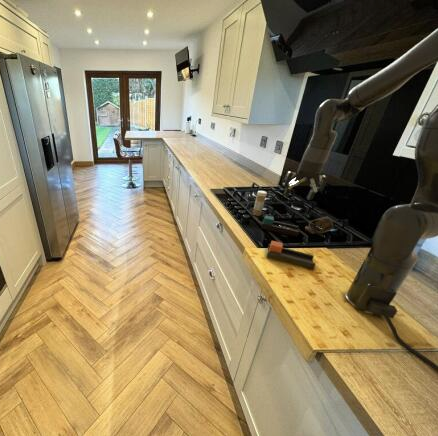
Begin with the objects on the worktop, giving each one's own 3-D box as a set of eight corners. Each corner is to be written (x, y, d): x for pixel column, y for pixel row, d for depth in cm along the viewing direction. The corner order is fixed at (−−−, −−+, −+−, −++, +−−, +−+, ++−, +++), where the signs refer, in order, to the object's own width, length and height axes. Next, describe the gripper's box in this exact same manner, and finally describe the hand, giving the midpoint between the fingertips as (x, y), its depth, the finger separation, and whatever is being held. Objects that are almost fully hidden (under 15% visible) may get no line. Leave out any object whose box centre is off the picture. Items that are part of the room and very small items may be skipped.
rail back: (297, 237, 110) (299, 232, 109) (260, 228, 117) (262, 223, 115) (296, 231, 115) (298, 226, 114) (261, 223, 122) (263, 218, 121)
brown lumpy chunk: (342, 227, 109) (330, 214, 117) (316, 223, 108) (305, 210, 116) (333, 238, 113) (322, 225, 121) (307, 235, 113) (298, 222, 121)
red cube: (280, 255, 93) (282, 247, 91) (269, 252, 94) (271, 244, 93) (280, 250, 96) (282, 243, 94) (269, 247, 97) (271, 240, 96)
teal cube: (271, 226, 115) (273, 220, 113) (262, 224, 117) (264, 218, 115) (272, 223, 118) (273, 217, 117) (263, 221, 120) (265, 215, 118)
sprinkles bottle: (258, 212, 134) (264, 190, 128) (262, 216, 130) (268, 193, 124) (250, 212, 134) (256, 190, 128) (254, 216, 130) (260, 193, 124)
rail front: (312, 270, 88) (315, 264, 86) (266, 257, 94) (268, 251, 93) (311, 260, 93) (313, 255, 92) (267, 249, 100) (268, 243, 98)
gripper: (297, 159, 85) (281, 199, 93) (340, 164, 83) (319, 204, 91) (290, 154, 91) (276, 191, 100) (330, 158, 89) (312, 196, 98)
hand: (297, 198), depth 96 cm, fingers open, 8 cm apart
